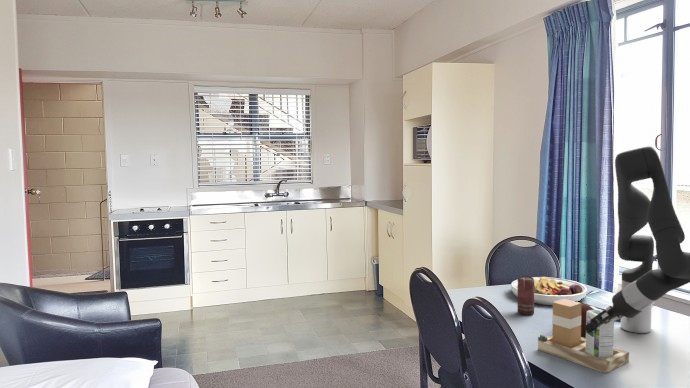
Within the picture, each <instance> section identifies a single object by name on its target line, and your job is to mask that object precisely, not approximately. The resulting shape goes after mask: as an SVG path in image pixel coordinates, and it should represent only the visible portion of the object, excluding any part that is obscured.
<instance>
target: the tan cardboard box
mask: <svg viewBox="0 0 690 388" xmlns="http://www.w3.org/2000/svg"><path fill="white" fill-rule="evenodd" d="M581 303H582V302H575V301H571V300H567V299H562V300H558V301H555V302H553V305H552V335H551V336H552V342H553V343H556V344H559V345H562V346H565V347H568V348H573V347H576V346H578V345H581Z"/></svg>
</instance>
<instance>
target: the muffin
mask: <svg viewBox="0 0 690 388" xmlns="http://www.w3.org/2000/svg"><path fill="white" fill-rule="evenodd" d="M580 303H581V337H582V338H586V330H585V328H584V327H585V326H586V313H587V311H588V310H595V309H594V307H592V306H590V305H588V304H587V303H582V302H580Z"/></svg>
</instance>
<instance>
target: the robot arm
mask: <svg viewBox="0 0 690 388" xmlns="http://www.w3.org/2000/svg"><path fill="white" fill-rule="evenodd" d="M614 166H615V167H614V168H615V175H616V183H617V185H616V186H617V217H618V218H617V220H618V237H617V254H618V257H619V258H620V259H621V260H623V261H627V262H640V263H641V264H640V265H638V266H636V267H632V268H629V269H625V270H624V271H622V272H621V289H620V290H619V291H618V292H617V293H615V294H614V295H613V296H612V298H611V302H612V305H609V306H608V307H606V308H605V309H602V310H603V311H602V312H601V313H599V314H598V315H597V316H595V317H594V318H593V319H591V320H590V323H589V324H587V325H586V326H585V327H584V328H585V330H586V331H587V332H588V333H591V332H592V331H594V330H595V329H596V328H598V327H600V326H601V325H603V324H605V325H607V324H608V323H610V322H612V321H614V322H616V321H618V320H620V328H621V329H622V330H624V331H627V332H631V333H637V334H647V333H650V332H651V331H652V330H651V329H652V306H653V304H654V303H655V302H656V301H658V300H659V299H660V298H662V297H663V296H665V295H666V294H667V293H669V292H670V291H673V290H675V289H678V288H680V287H681V288H682V287H683V286H685V285H688V284H690V252H688V251H683V250H682V248H681V244H683V242H684V241H685V238H686V236H685V231H684V230H683V227H682V224H681V223H680V220H679V218H678V215H677V214H676V210H675V208H674V205H673V202H672V198H671V194H670V190H669V187H668V182H667V179H666V175H665V172H664V167H663V165H662V161H661V158H660V155H659V154H658V152H657V150H656V149H655V148H654V147H653V146H650V145H648V146H643V147H638V148H635V149H629V150H625V151H622V152H619V153H618V154H617V155H616V156H615V160H614ZM647 179H651V180H652V185H653V187H652V188H653V191H652V196H651V198H650V199H649V197H648V195H646V194H645V193H644V192H643V191H641V190H640V189H639V188H637V187H635V186H634V185H633V184H632V183H634V182H639V181H643V180H647ZM647 224H648V227H649V229H650V231H651V234H652V236H653V237H652V236H651V235H649V234H648V235H646V234H636V233H638V232H639V231H641V230H642V229H643V228H644V227H646V226H647ZM653 238H654V239H653ZM654 241H655V243H654ZM654 251H655V253H656V260H657V264H658V267H659V268H655V269H653V263H654ZM597 320H598V321H599V323H598V321H597ZM607 320H608V321H607Z"/></svg>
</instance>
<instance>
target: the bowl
mask: <svg viewBox="0 0 690 388" xmlns="http://www.w3.org/2000/svg"><path fill="white" fill-rule="evenodd" d="M532 278H533V279H534V304H538V305H544V306H545V305H546V306H553V302H555V301H558V300H562V299H567V300H571V301H575V300H578V299H581V298H584V297H585V298H586V295H587V293H588V289H587V287H586V286H585V285H584V284H582V283H580V282H577V281H574V280H570V279H566V278H559V277H558V278H556V277H549V276H533V277H532ZM510 286H511V287H510V288H511V290H512V291H511V292H512V293H513V294H514V295H515V297H517V298H518V279H516V280H513V281H512V282H511V283H510ZM585 298H584V299H585Z"/></svg>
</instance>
